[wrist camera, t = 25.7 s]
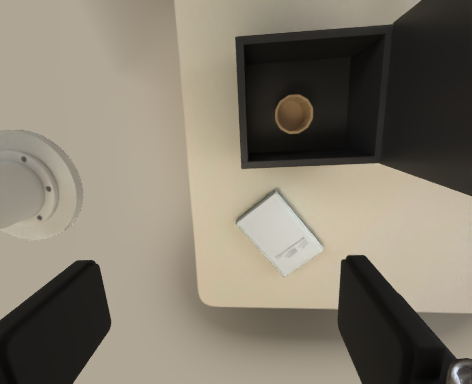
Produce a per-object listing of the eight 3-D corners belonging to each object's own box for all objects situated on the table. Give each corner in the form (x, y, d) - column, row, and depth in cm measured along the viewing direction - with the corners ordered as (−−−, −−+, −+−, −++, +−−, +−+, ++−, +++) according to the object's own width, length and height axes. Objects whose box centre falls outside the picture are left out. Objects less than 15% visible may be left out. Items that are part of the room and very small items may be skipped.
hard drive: (275, 189, 40) (322, 245, 42) (235, 220, 41) (282, 273, 43) (276, 192, 38) (325, 250, 40) (235, 224, 40) (283, 278, 42)
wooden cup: (272, 133, 37) (275, 134, 32) (271, 99, 35) (274, 95, 31) (304, 131, 36) (312, 132, 31) (304, 97, 35) (313, 93, 30)
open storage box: (243, 157, 39) (241, 168, 29) (239, 60, 35) (235, 36, 26) (348, 153, 37) (381, 162, 28) (354, 51, 34) (394, 23, 25)
